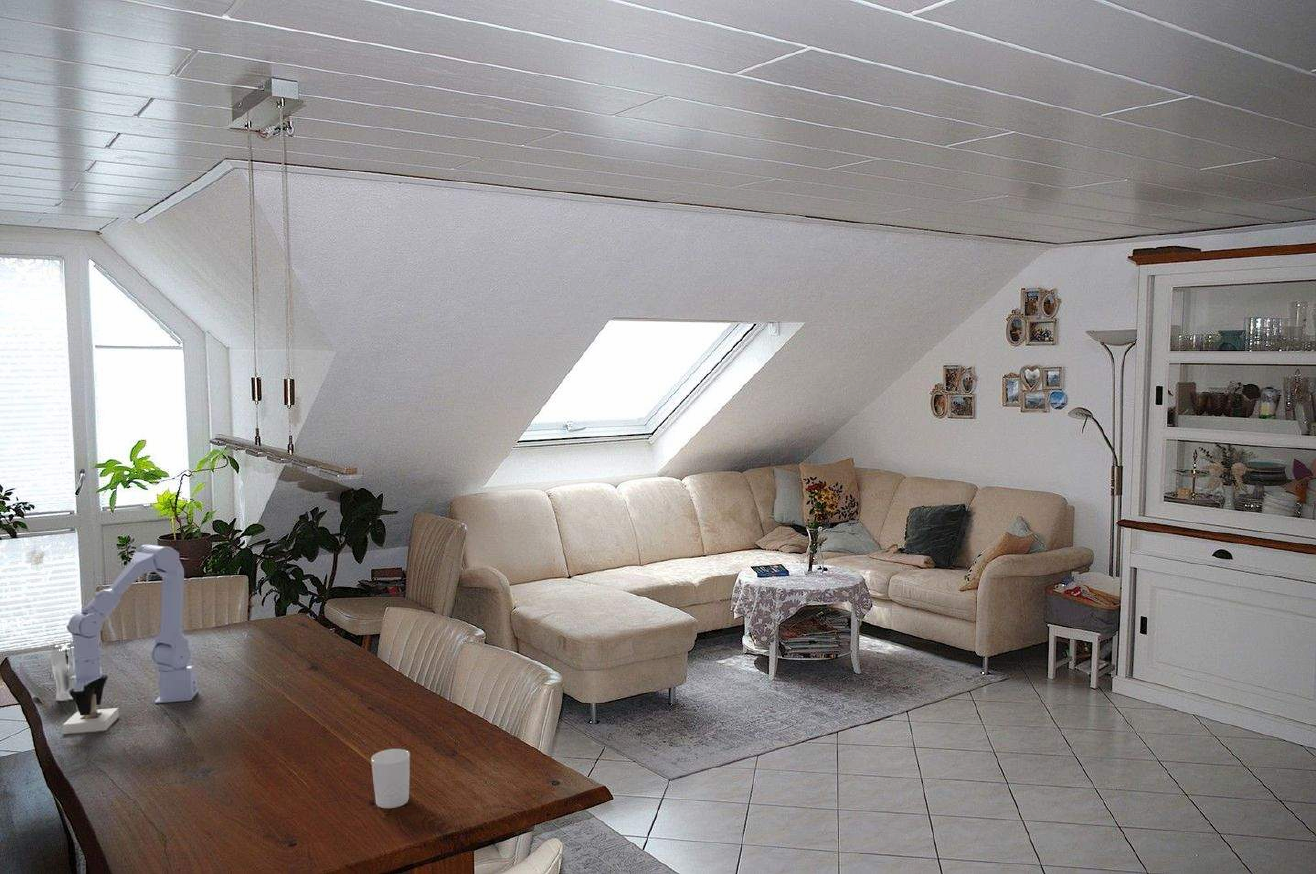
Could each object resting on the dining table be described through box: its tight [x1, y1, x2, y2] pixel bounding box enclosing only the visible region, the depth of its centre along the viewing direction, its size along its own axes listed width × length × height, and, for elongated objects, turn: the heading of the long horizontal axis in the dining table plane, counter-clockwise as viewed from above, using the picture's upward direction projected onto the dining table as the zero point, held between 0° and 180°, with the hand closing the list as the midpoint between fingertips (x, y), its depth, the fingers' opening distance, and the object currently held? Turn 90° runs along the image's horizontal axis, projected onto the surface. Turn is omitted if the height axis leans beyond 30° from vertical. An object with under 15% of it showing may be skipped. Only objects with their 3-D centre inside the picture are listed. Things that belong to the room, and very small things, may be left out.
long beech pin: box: [84, 694, 98, 719], centre depth 260 cm, size 3×3×8 cm
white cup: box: [370, 748, 411, 809], centre depth 211 cm, size 8×8×10 cm
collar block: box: [62, 707, 120, 735], centre depth 260 cm, size 10×10×2 cm
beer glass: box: [50, 642, 75, 702], centre depth 282 cm, size 7×7×15 cm
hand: (90, 709), depth 260 cm, fingers open, 7 cm apart
